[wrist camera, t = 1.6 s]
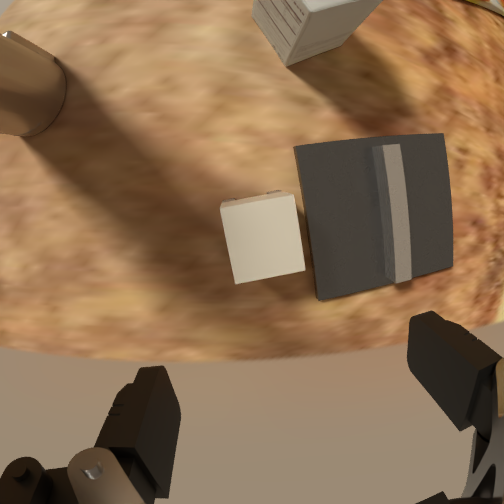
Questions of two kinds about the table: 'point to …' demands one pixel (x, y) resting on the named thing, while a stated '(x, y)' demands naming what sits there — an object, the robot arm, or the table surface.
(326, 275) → the rail board
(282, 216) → the block
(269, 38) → the supplement box
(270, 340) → the table surface
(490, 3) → the food package
